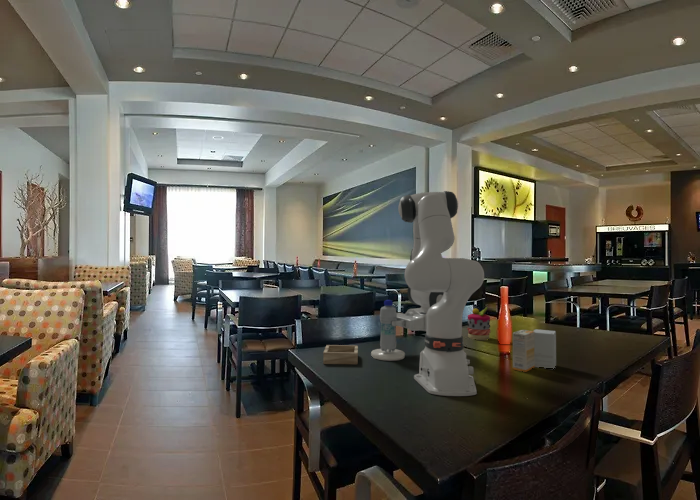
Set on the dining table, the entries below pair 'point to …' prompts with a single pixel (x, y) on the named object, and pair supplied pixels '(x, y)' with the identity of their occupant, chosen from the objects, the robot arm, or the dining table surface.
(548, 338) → the supplement box
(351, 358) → the box
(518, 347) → the supplement box
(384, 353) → the ceramic plate
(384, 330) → the bottle
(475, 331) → the cake
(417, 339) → the dining table surface
